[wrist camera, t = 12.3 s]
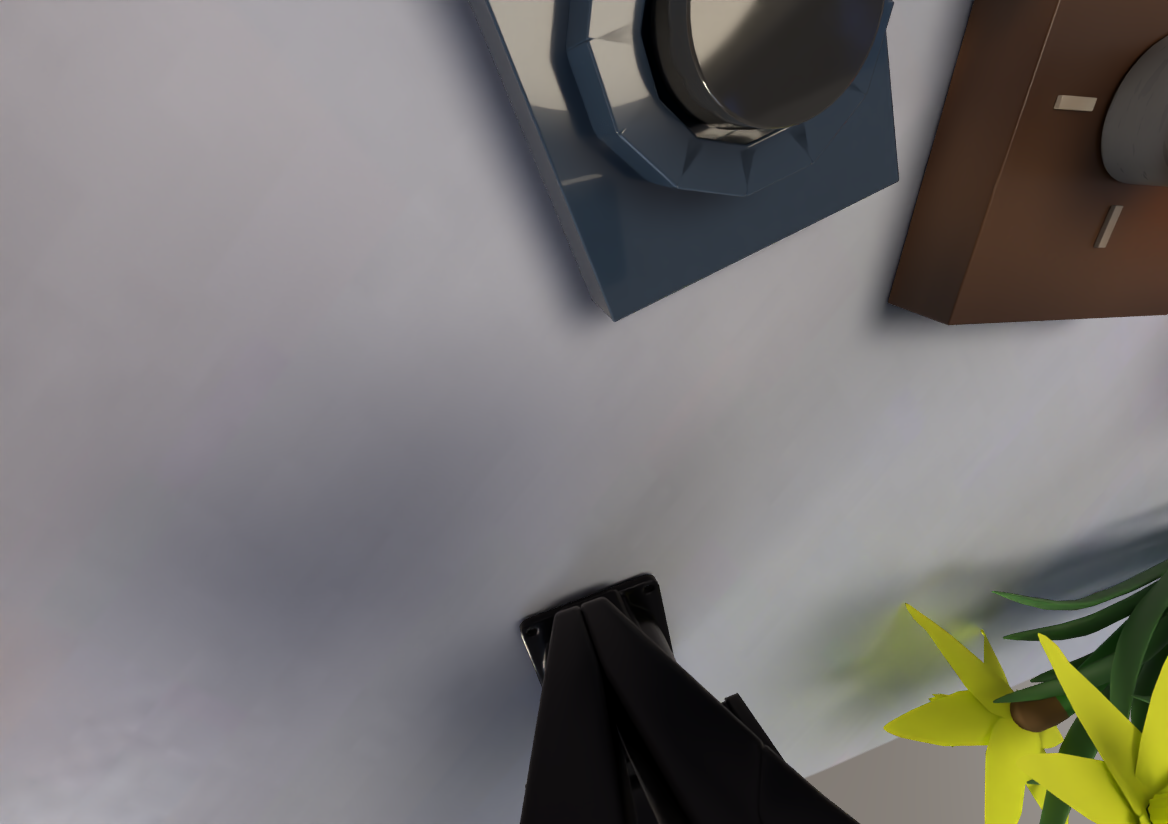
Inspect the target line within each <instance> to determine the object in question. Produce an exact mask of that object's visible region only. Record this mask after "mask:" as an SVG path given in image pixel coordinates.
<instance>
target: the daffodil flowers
mask: <svg viewBox="0 0 1168 824" xmlns="http://www.w3.org/2000/svg"><path fill="white" fill-rule="evenodd" d="M1160 577H1161V578H1160ZM1158 578H1160V579H1159V580H1158V581H1156V582H1154V583H1153V584H1151V585H1149V586H1147V587H1146V588H1144V589H1142V590H1141V591H1139V592H1137V593H1135V594H1133V595H1131V596H1129V597H1127V598H1125V599H1123V600H1121V601H1119V602H1117V603H1115V604H1113V605H1111V606H1109V607H1107V608H1104V609H1102V610H1100V611H1098V612H1096V613H1093V614H1091V615H1088V616H1086V617H1083V618H1079V619H1076V620H1073V621H1069V622H1066V623H1062V624H1058V625H1053V626H1048V627H1043V628H1038V629H1033V630H1028V631H1023V632H1018V633H1014V634H1011V635H1007V636H1004V637H1003V639H1010V640H1027V641H1040V643H1041V645H1042V647H1043V649H1044V651H1045V652H1046V654H1047V656H1048V658H1049V661H1050V663H1051V665H1052V667H1053V669H1052V670H1050V671H1047V672H1045V673H1042V674H1040V675H1038V676H1037V677H1035V678H1033V679H1031V680H1030V681H1031V682H1043V683H1041V684H1038V685H1034V686H1031V687H1028V688H1025V689H1022V690H1019V691H1018V690H1017V691H1016V692H1014V691H1013V690H1012V689H1011V688H1010V687H1009V684H1008V682H1007V679H1006V676H1005V674H1004V671H1003V669H1002V667H1001V665H1000V663H999V661H998V659H997V657H996V655H995V653H994V651H993V649H992V647H991V645H990V643H989V641H988V639H987V637H986V634H985V633H984V631H983V630H982V629H981V630H980V631H981V633H982V634H983V635H984V663H983V662H982V661H981V660H980V659H978V658H977V657H976V656H975V655H974V654H973V653H971V652H970V651H969V650H968V649H967V648H966V647H964V646H963V645H962V644H961V643H960V642H959V641H957V640H956V639H955V638H954V637H953V636H952V635H950V634H949V633H948V632H946V631H945V630H944V629H942V628H941V627H940V626H938V625H937V624H936V623H934V622H933V621H932V620H930V619H929V618H927V617H926V616H924V615H923V614H922V613H920V612H919V611H917V610H916V609H915V608H913V607H912V606H911V605H909V604H907V603H905V605H906V608H907V610H908V611H909V613H910V614H911V616H912V617H913V619H914V620H915V621H916V622H917V623H918V624H919V625H920V626H921V627H923V628H924V629H925V630H926V631H927V633H928V634H929V635H930V637H931V638H932V640H933V641H934V643H935V644H936V646H937V647H938V648H939V650H940V651H941V653H942V654H943V656H944V657H945V658H946V660H947V661H948V663H949V664H950V665H951V667H952V668H953V670H954V671H955V672H956V674H957V675H958V677H959V678H960V679H961V681H962V682H963V684H964V685H965V687H966V688H967V689H968V690H966V691H958V692H956V693H953V694H950V695H945V694H939V693H938V694H933V695H934V696H935V697H933V698H929V700H930V701H931V702H929V703H927V704H924V705H922V706H920V707H918V708H915V709H913V710H911V711H909V712H907V713H905V714H903V715H901V716H900V717H898V718H896V719H894V720H892V721H891V722H889V723H887V724H886V725H885V726H884V728H883V729H884V730H886V731H887V732H889V733H891V734H893V735H896V736H898V737H901V738H906V739H910V740H916V741H920V742H925V743H930V744H936V745H941V746H952V747H953V746H974V745H988V747H987V750H986V762H985V763H986V764H985V824H1017V823H1018V821H1019V818H1020V816H1021V813H1022V806H1023V798H1024V790H1025V784H1026V786H1027V787H1028V788H1029V790H1030V792H1031V793H1032V795H1033V797H1034V798H1035V800H1036V801H1037V803H1038V804H1039V806H1040V808H1041V809H1042V814H1041V819H1040V824H1068V818H1069V816H1068V815H1069V812H1070V810H1071V807H1072V808H1073V809H1075V810H1076V811H1078V812H1079V813H1081V814H1082V815H1083V816H1085V817H1087V818H1088V819H1090V820H1091V821H1093V822H1095V823H1097V824H1168V560H1166V561H1164V562H1162V563H1160V564H1158V565H1156V566H1154V567H1152V568H1150V569H1148V570H1146V571H1144V572H1142V573H1140V574H1138V575H1136V576H1134V577H1132V578H1130V579H1128V580H1126V581H1124V582H1122V583H1120V584H1118V585H1115V586H1113V587H1111V588H1108V589H1105V590H1102V591H1099V592H1097V593H1094V594H1092V595H1089V596H1087V597H1084V598H1081V599H1078V600H1067V601H1054V600H1048V599H1041V598H1034V597H1028V596H1023V595H1018V594H1012V593H1006V592H998V591H992V592H993V593H995V594H997V595H1000V596H1002V597H1005V598H1008V599H1010V600H1013V601H1015V602H1018V603H1021V604H1025V605H1029V606H1033V607H1037V608H1041V609H1045V610H1078V609H1082V608H1087V607H1091V606H1095V605H1098V604H1100V603H1103V602H1106V601H1108V600H1111V599H1113V598H1116V597H1119V596H1121V595H1124V594H1127V593H1129V592H1132V591H1134V590H1136V589H1138V588H1141V587H1143V586H1145V585H1147V584H1149V583H1151V582H1152V581H1154V580H1156V579H1158ZM1129 615H1130V616H1129ZM1127 616H1129V618H1128V619H1127V620H1126V621H1125V622H1124V623H1123V624H1122V625H1121V626H1120V627H1119V628H1118V629H1117V630H1116V631H1115V632H1114V633H1113V634H1112V635H1111V636H1110V637H1109V638H1108V639H1107V640H1106V641H1105V642H1104V643H1103V644H1102V645H1100V646H1099V647H1098V648H1097V649H1096V650H1095V651H1094V652H1092V653H1090V654H1088V655H1086V656H1084V657H1081V658H1079V659H1076V660H1074V661H1071V662H1069V661H1068V660H1067V659H1066V657H1065V656H1064V654H1063V653H1062V652H1061V650H1060V649H1059V647H1058V646H1057V645H1056V644H1055V643H1054V642H1052V641H1051V640H1065V639H1071V638H1076V637H1081V636H1086V635H1089V634H1092V633H1094V632H1097V631H1099V630H1101V629H1103V628H1105V627H1107V626H1109V625H1111V624H1113V623H1115V622H1117V621H1119V620H1121V619H1123V618H1125V617H1127ZM1130 710H1131V722H1132V723H1131V722H1130V721H1129V715H1130ZM1074 713H1076V715H1077V718H1076V719H1075V721H1074V723H1073V724H1072V726H1071V727H1070V729H1069V731H1068V733H1067V735H1066V737H1065V739H1063V737H1062V735H1061V734H1060V732H1059V730H1058V728H1057V725H1058V724H1059V723H1061V722H1063V721H1064V720H1066V719H1067V718H1069V717H1070V716H1071V715H1073V714H1074ZM1063 740H1064V741H1063ZM1062 742H1063V743H1062ZM1060 743H1062V745H1061V747H1060V750H1059V753H1048V754H1047V753H1046V752H1045V750H1044V749H1045V748H1052V747H1054V746H1057V745H1058V744H1060ZM1097 751H1098V752H1099V754H1100V755H1101V757H1102V759H1103V760H1104V761H1100V760H1095V759H1094V757H1095V755H1096V753H1097Z"/></svg>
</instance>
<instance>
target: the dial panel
mask: <svg viewBox="0 0 1168 824" xmlns="http://www.w3.org/2000/svg"><path fill="white" fill-rule="evenodd" d="M1166 36H1168V0H974V3H973V6H972V10H971V13H970V17H969V20H968V24H967V27H966V31H965V34H964V38H963V41H962V45H961V48H960V52H959V55H958V59H957V62H956V66H955V69H954V73H953V76H952V80H951V83H950V87H949V90H948V94H947V97H946V101H945V104H944V108H943V111H942V115H941V118H940V122H939V125H938V129H937V132H936V136H935V139H934V143H933V146H932V150H931V153H930V157H929V160H928V164H927V167H926V171H925V174H924V178H923V181H922V185H921V188H920V192H919V195H918V198H917V202H916V205H915V209H914V212H913V216H912V219H911V223H910V226H909V230H908V233H907V237H906V240H905V244H904V247H903V251H902V254H901V258H900V261H899V265H898V268H897V272H896V275H895V279H894V282H893V286H892V289H891V293H890V296H889V300H888V303H889V304H892V305H895V306H897V307H900V308H903V309H906V310H908V311H911V312H914V313H916V314H919V315H922V316H925V317H927V318H930V319H933V320H936V321H938V322H941V323H944V324H946V325H961V324H982V323H1003V322H1024V321H1045V320H1067V319H1088V318H1109V317H1130V316H1152V315H1167V314H1168V187H1165V186H1151V185H1138V184H1127V183H1122V182H1119V181H1117V180H1116V179H1114V178H1113V177H1111V176H1110V174H1109V173H1108V172H1107V170H1106V169H1105V167H1104V164H1103V161H1102V155H1101V137H1102V131H1103V125H1104V122H1105V118H1106V115H1107V112H1108V109H1109V106H1110V104H1111V102H1112V100H1113V97H1114V95H1115V93H1116V91H1117V90H1118V88H1119V86H1120V84H1121V83H1122V81H1123V79H1124V78H1125V76H1126V75H1127V73H1128V72H1129V71H1130V69H1131V68H1132V67H1133V65H1134V64H1135V63H1136V62H1137V61H1138V60H1139V58H1140V57H1141V56H1142V55H1143V54H1144V53H1145V52H1146V51H1147V50H1148V49H1150V48H1151V47H1152V46H1153V45H1154V44H1156V43H1157V42H1158V41H1160V40H1161V39H1163V38H1164V37H1166Z"/></svg>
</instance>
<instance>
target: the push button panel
mask: <svg viewBox="0 0 1168 824" xmlns="http://www.w3.org/2000/svg"><path fill="white" fill-rule="evenodd" d="M468 1H469V3H470V6H471V8H472V11H473V13H474V15H475V18H476V20H477V23H478V25H479V28H480V30H481V32H482V35H483V37H484V40H485V42H486V45H487V47H488V49H489V52H490V54H491V57H492V59H493V61H494V64H495V66H496V69H497V71H498V74H499V76H500V78H501V81H502V83H503V86H504V88H505V91H506V93H507V95H508V98H509V100H510V103H511V105H512V108H513V110H514V112H515V115H516V117H517V120H518V122H519V125H520V127H521V129H522V132H523V134H524V137H525V139H526V141H527V144H528V146H529V149H530V151H531V154H532V156H533V158H534V161H535V163H536V166H537V168H538V171H539V173H540V175H541V178H542V180H543V183H544V185H545V188H546V190H547V192H548V195H549V197H550V200H551V202H552V204H553V207H554V209H555V212H556V214H557V217H558V219H559V221H560V224H561V226H562V229H563V231H564V234H565V236H566V238H567V241H568V243H569V246H570V248H571V251H572V253H573V255H574V258H575V260H576V263H577V265H578V267H579V270H580V272H581V275H582V277H583V280H584V282H585V284H586V287H587V289H588V292H589V294H590V297H591V299H592V301H593V302H594V303H595V304H596V305H597V306H598V307H599V308H600V309H601V310H602V311H603V312H604V313H605V314H606V315H607V316H608V317H610V318H611V319H612V320H613V321H614V322H616V321H618V320H620V319H622V318H624V317H626V316H628V315H630V314H632V313H634V312H636V311H638V310H640V309H642V308H644V307H646V306H648V305H650V304H652V303H654V302H656V301H658V300H660V299H662V298H664V297H666V296H668V295H670V294H673V293H675V292H677V291H679V290H681V289H683V288H685V287H687V286H689V285H691V284H693V283H695V282H697V281H699V280H701V279H703V278H705V277H707V276H709V275H711V274H713V273H715V272H717V271H719V270H721V269H723V268H725V267H727V266H729V265H731V264H733V263H735V262H737V261H739V260H741V259H743V258H745V257H747V256H749V255H751V254H753V253H755V252H757V251H759V250H761V249H763V248H765V247H767V246H769V245H771V244H773V243H775V242H777V241H779V240H781V239H783V238H785V237H787V236H789V235H791V234H793V233H795V232H797V231H799V230H801V229H803V228H805V227H807V226H809V225H811V224H814V223H816V222H818V221H820V220H822V219H824V218H826V217H828V216H830V215H832V214H834V213H836V212H838V211H840V210H842V209H844V208H846V207H848V206H850V205H852V204H854V203H856V202H858V201H860V200H862V199H864V198H866V197H868V196H870V195H872V194H874V193H876V192H878V191H880V190H882V189H884V188H886V187H888V186H890V185H892V184H894V183H896V182H898V181H899V173H898V162H897V150H896V139H895V127H894V116H893V104H892V93H891V82H890V70H889V59H888V47H887V36H886V28H887V25H888V22H889V18H890V15H891V11H892V8H893V5H894V2H893V1H892V0H885V1H884V7H883V13H882V17H881V21H880V25H879V28H878V31H877V34H876V37H875V40H874V43H873V45H872V48H871V50H870V52H869V54H868V57H867V59H866V60H865V62H864V64H863V66H862V68H861V69H860V71H859V73H858V74H857V76H856V77H855V79H854V80H853V81H852V83H851V84H850V86H849V87H848V88H847V89H846V90H845V91H844V93H843V94H842V95H841V96H840V97H839V98H838V99H837V100H836V101H835V102H834V103H833V104H832V105H831V106H829V107H828V108H827V109H825V110H824V111H823V112H821V113H820V114H819V115H817V116H815V117H814V118H812V119H810V120H808V121H806V122H804V123H802V124H799V125H797V126H793V127H789V128H785V129H776V130H723V129H717V128H713V127H709V126H706V125H704V124H702V123H700V122H698V121H696V120H695V119H693V118H692V117H690V116H689V115H688V114H686V113H685V112H684V111H683V110H682V109H681V108H680V107H679V106H678V105H677V104H676V102H675V101H674V100H673V99H672V97H671V96H670V94H669V93H668V91H667V89H666V88H665V86H664V84H663V81H662V79H661V77H660V75H659V72H658V69H657V66H656V63H655V59H654V54H653V50H652V42H651V27H650V17H651V6H652V0H468Z"/></svg>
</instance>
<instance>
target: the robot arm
mask: <svg viewBox="0 0 1168 824" xmlns="http://www.w3.org/2000/svg"><path fill="white" fill-rule="evenodd" d="M648 585H649V586H648ZM646 586H647V587H646ZM532 628H534V629H532ZM529 629H532V630H529ZM520 632H521V637H522V639H523V642H524V644H525V646H526V649H527V651H528V654H529V656H530V659H531V661H532V664H533V666H534V668H535V671H536V673H537V676H538V678H539V681H540V683H541V686H542V693H541V699H540V705H539V711H538V717H537V723H536V729H535V735H534V741H533V747H532V753H531V759H530V765H529V772H528V778H527V784H526V785H525V788H526V790H525V796H524V802H523V808H522V814H521V820H520V824H860V823H858V822H857V821H856V820H855V819H853V818H852V817H851V816H850V815H848V814H847V813H845V812H844V811H843V810H842V809H841V808H839V807H838V806H837V805H835V804H834V803H833V802H832V801H830V800H829V799H828V798H826V797H825V796H824V795H823V794H822V793H821V792H819V791H818V790H817V789H816V788H815V787H814V786H812V785H811V784H810V783H809V782H808V781H806V779H804V778H803V777H802V776H801V775H800V774H799V773H797V772H796V771H795V770H794V769H793V768H792V767H790V766H789V765H788V764H787V763H786V762H785V761H784V759H783V758H782V757H781V755H780V754H779V752H778V751H777V749H776V748H775V746H774V745H773V743H772V742H771V741H770V739H769V738H768V736H767V735H766V733H765V732H764V730H763V729H762V727H761V726H760V725H759V723H758V722H757V720H756V719H755V717H754V716H753V714H752V713H751V712H750V710H749V709H748V707H747V706H746V704H745V703H744V701H743V700H742V698H741V697H740V696H739V694H738V693H736V694H734V695H731V696H729V697H727V698H725V701H724V702H722V703H720V702H719V701H718V700H717V699H716V698H715V697H714V696H713V695H711V694H710V693H709V692H708V691H707V690H706V689H705V688H704V687H703V686H702V685H701V684H699V683H698V682H697V681H696V680H695V679H694V678H693V677H692V676H691V675H690V674H689V673H687V672H686V671H685V670H684V669H683V668H682V667H681V666H680V665H679V664H678V663H677V662H676V660H675V658H674V655H673V650H672V645H671V640H670V636H669V631H668V626H667V621H666V616H665V612H664V607H663V602H662V597H661V592H660V588H659V584H658V582H657V581H656V579H655V577H654V576H653V575H644V576H641V577H638V578H635V579H633V580H630V581H627V582H625V583H622V584H619V585H616V586H614V587H611V588H608V589H606V590H603V591H600V592H597V593H595V594H592V595H589V596H587V597H584V598H581V599H578V600H576V601H573V602H570V603H567V604H565V605H562V606H559V607H557V608H554V609H551V610H548V611H546V612H543V613H540V614H538V615H535V616H532V617H529V618H527V619H525V620H524V621H523V622H522V623H521V625H520Z"/></svg>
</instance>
